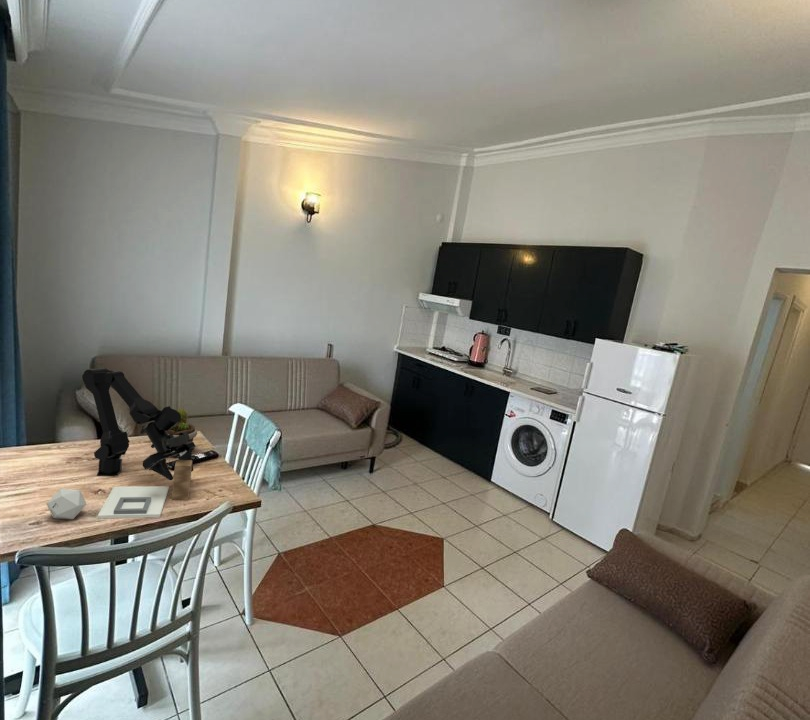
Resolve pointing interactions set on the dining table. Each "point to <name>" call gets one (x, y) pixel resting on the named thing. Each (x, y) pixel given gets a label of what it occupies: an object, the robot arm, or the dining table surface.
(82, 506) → the die
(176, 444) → the robot arm
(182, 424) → the flowerpot
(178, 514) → the dining table surface
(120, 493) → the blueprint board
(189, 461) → the brown paper bag
